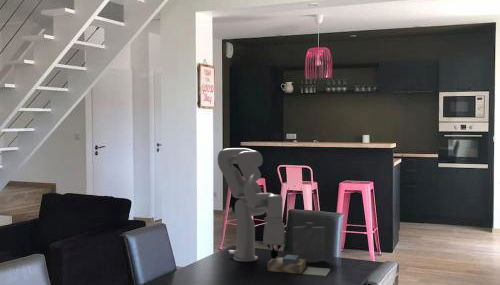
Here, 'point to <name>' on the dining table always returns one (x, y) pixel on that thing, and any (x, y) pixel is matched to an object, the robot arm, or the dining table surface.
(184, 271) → the dining table surface
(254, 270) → the dining table surface
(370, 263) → the dining table surface
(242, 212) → the robot arm
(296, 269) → the deck
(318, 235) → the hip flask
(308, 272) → the mat
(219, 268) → the dining table surface
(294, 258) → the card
